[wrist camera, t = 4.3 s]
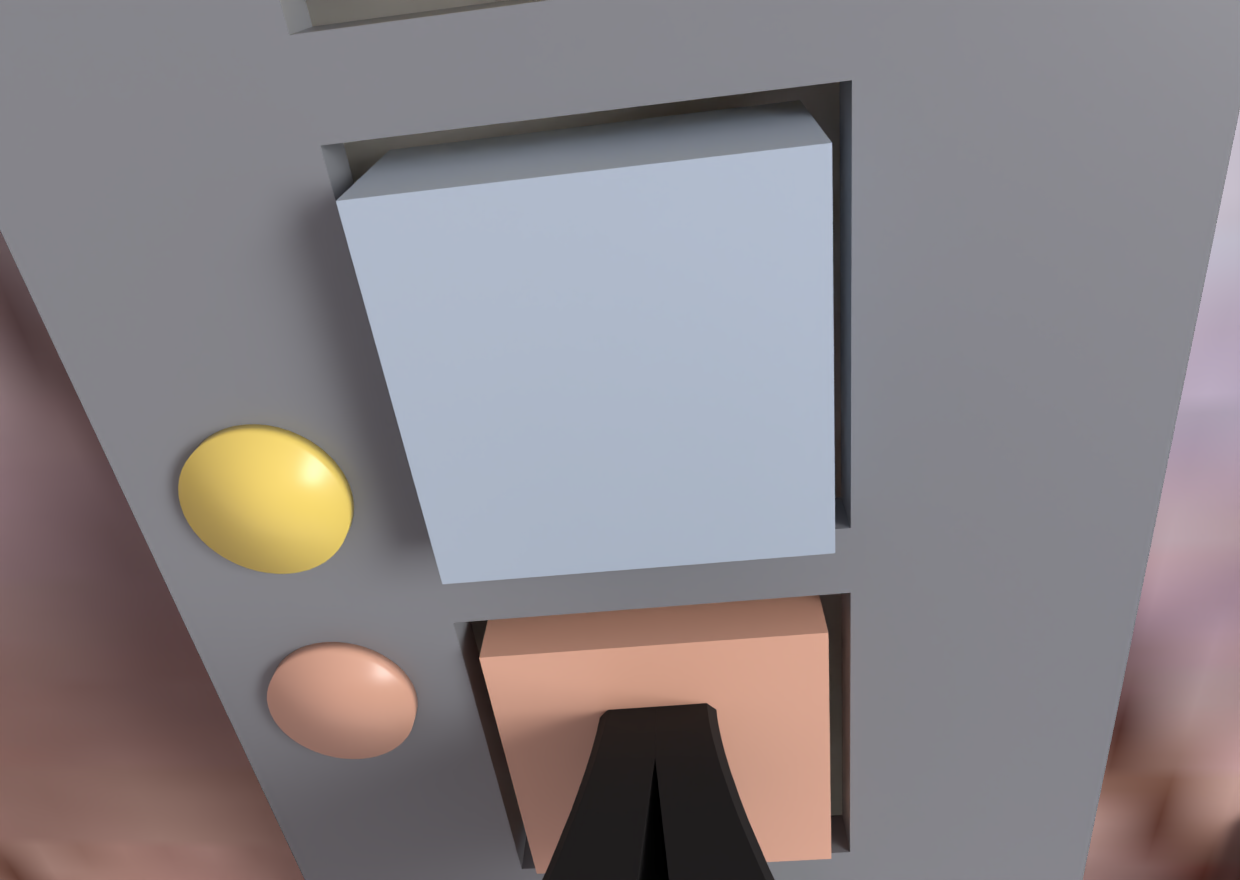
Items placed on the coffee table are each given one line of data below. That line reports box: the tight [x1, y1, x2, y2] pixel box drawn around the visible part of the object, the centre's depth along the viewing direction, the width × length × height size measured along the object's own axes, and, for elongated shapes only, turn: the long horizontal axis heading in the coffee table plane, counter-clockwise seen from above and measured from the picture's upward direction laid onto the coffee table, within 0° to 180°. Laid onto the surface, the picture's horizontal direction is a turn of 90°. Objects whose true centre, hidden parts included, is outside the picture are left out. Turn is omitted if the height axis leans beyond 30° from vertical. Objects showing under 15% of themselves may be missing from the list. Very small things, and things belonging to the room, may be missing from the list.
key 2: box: [479, 595, 831, 874], centre depth 12 cm, size 4×4×2 cm
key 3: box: [336, 100, 835, 584], centre depth 9 cm, size 4×4×2 cm
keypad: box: [0, 0, 1240, 880], centre depth 12 cm, size 24×11×5 cm, turn 7°
